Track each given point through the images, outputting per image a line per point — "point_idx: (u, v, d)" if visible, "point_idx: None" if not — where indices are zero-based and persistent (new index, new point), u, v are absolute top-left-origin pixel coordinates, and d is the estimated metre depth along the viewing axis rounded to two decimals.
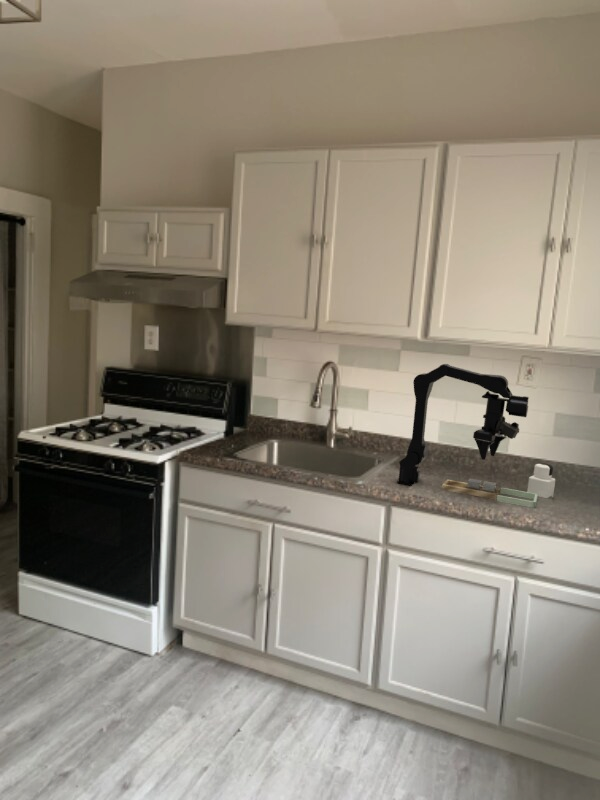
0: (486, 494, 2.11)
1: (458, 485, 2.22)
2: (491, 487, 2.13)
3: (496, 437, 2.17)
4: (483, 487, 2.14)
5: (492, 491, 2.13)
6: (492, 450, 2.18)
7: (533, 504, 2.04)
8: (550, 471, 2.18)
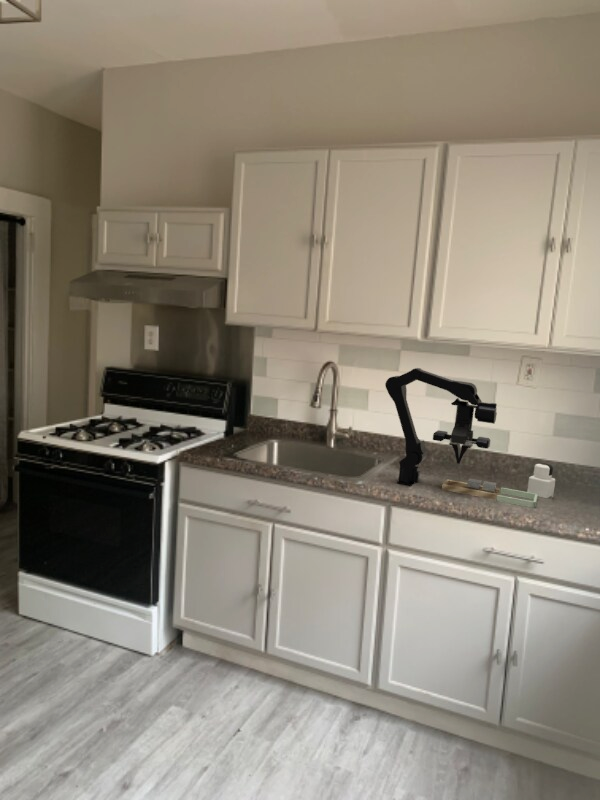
0: (486, 494, 2.11)
1: (458, 485, 2.22)
2: (491, 487, 2.13)
3: None
4: (483, 487, 2.14)
5: (492, 491, 2.13)
6: None
7: (533, 504, 2.04)
8: (550, 471, 2.18)
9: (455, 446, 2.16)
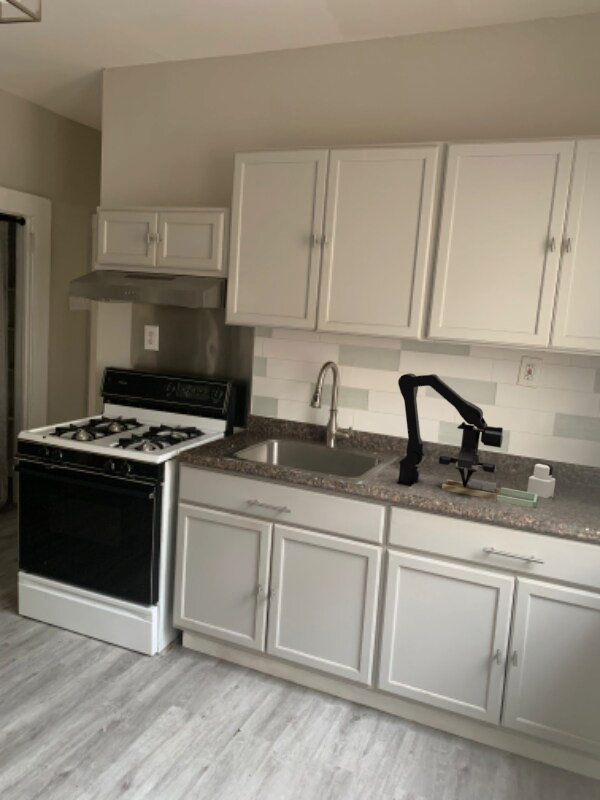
0: (486, 494, 2.11)
1: (458, 485, 2.22)
2: (491, 487, 2.13)
3: None
4: (483, 487, 2.14)
5: (492, 491, 2.13)
6: None
7: (533, 504, 2.04)
8: (550, 471, 2.18)
9: (461, 470, 2.16)
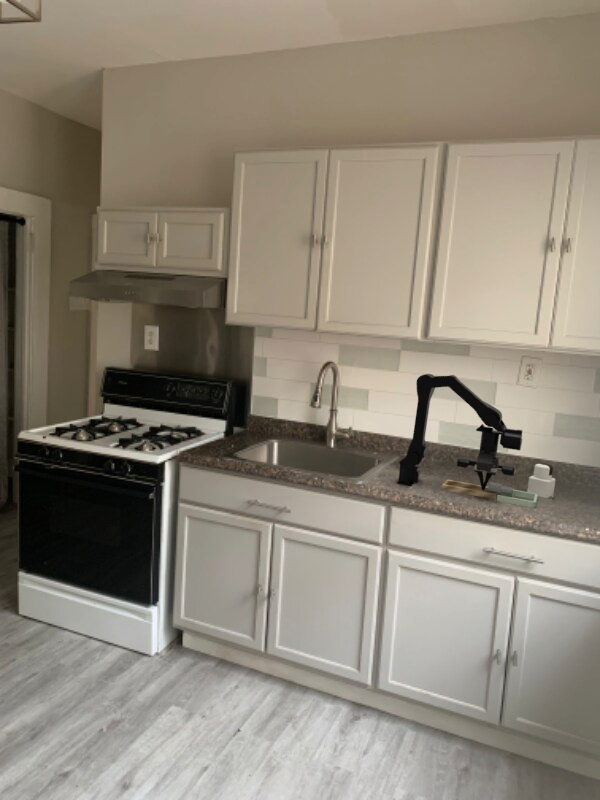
0: (486, 494, 2.11)
1: (458, 485, 2.22)
2: (509, 493, 2.11)
3: None
4: (501, 492, 2.12)
5: (510, 496, 2.11)
6: None
7: (533, 504, 2.04)
8: (550, 471, 2.18)
9: (480, 473, 2.13)
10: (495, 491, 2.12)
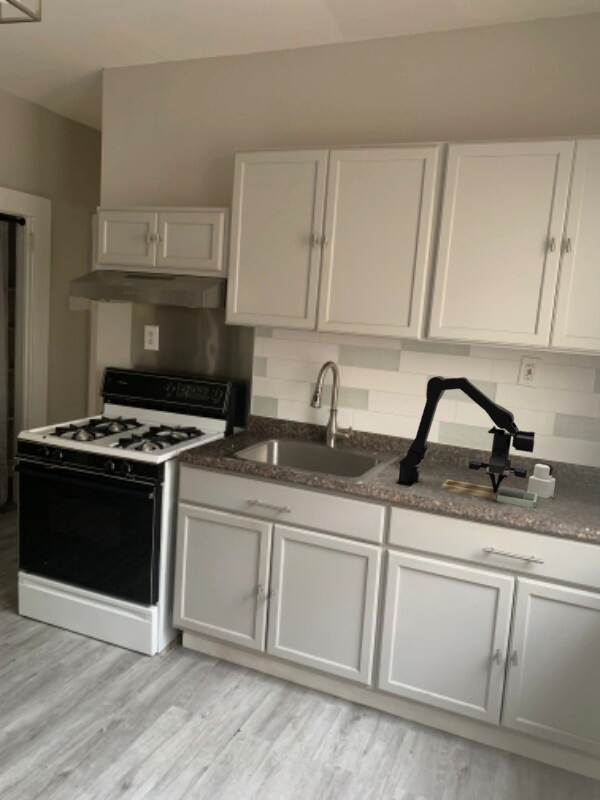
0: (486, 494, 2.11)
1: (458, 485, 2.22)
2: (521, 495, 2.09)
3: None
4: (512, 494, 2.10)
5: (521, 498, 2.09)
6: None
7: (533, 504, 2.04)
8: (550, 471, 2.18)
9: (492, 475, 2.12)
10: (506, 495, 2.11)
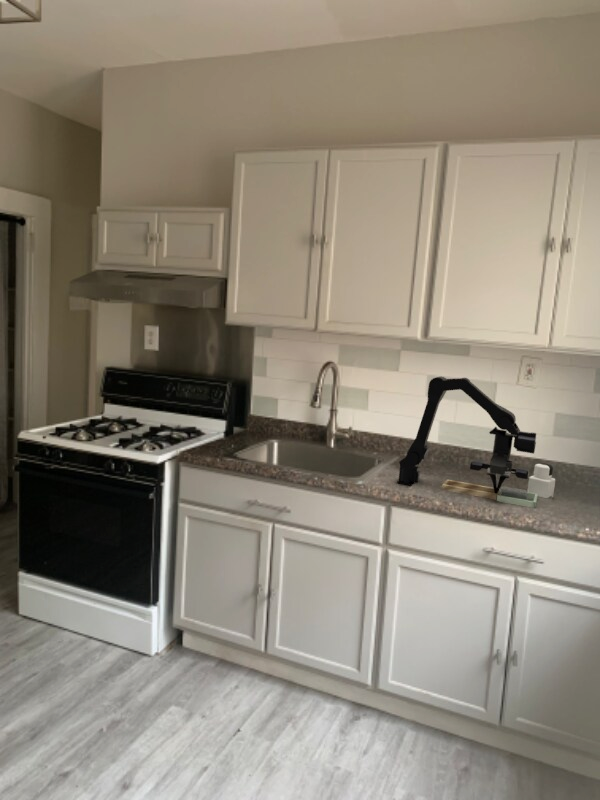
0: (486, 494, 2.11)
1: (458, 485, 2.22)
2: (523, 495, 2.09)
3: None
4: (515, 495, 2.10)
5: (524, 499, 2.09)
6: None
7: (533, 504, 2.04)
8: (550, 471, 2.18)
9: (493, 476, 2.12)
10: (509, 496, 2.11)
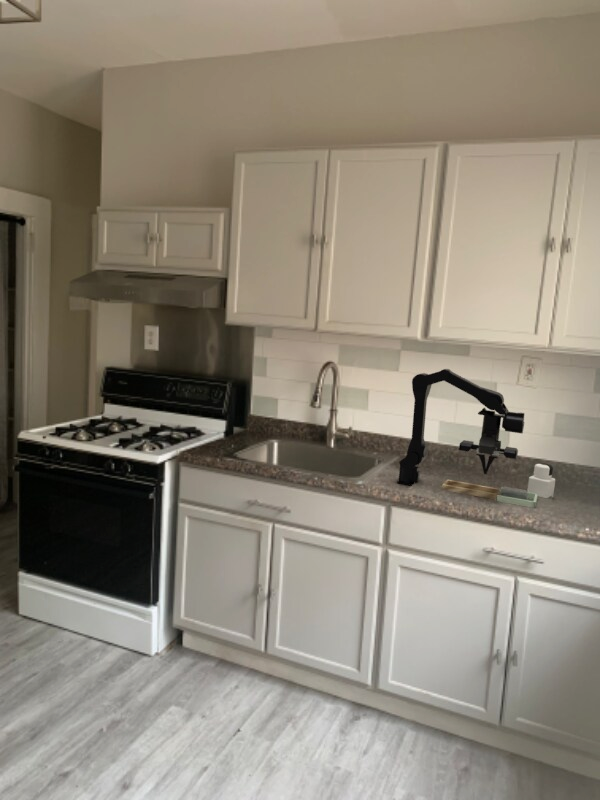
0: (486, 494, 2.11)
1: (458, 485, 2.22)
2: (523, 495, 2.09)
3: None
4: (515, 495, 2.10)
5: (524, 499, 2.09)
6: None
7: (533, 504, 2.04)
8: (550, 471, 2.18)
9: (482, 456, 2.13)
10: (509, 496, 2.11)
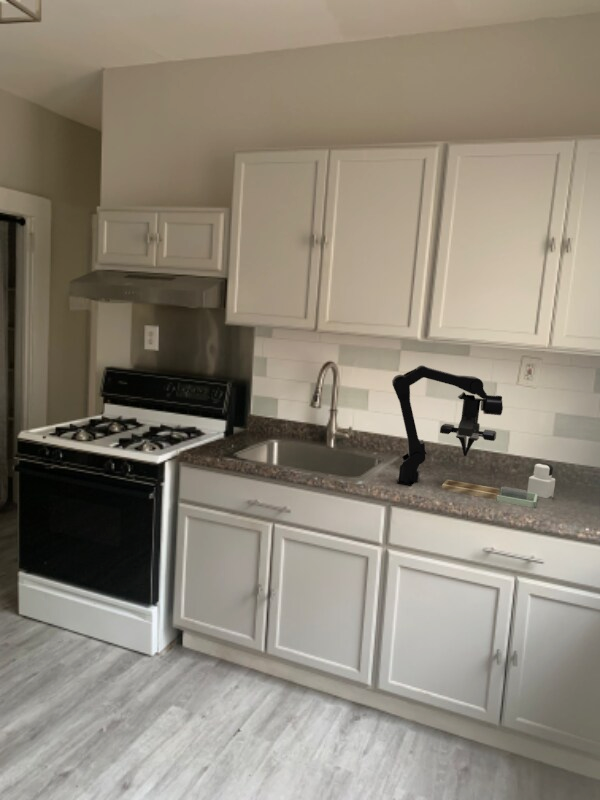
0: (486, 494, 2.11)
1: (458, 485, 2.22)
2: (523, 495, 2.09)
3: (469, 438, 2.22)
4: (515, 495, 2.10)
5: (524, 499, 2.09)
6: None
7: (533, 504, 2.04)
8: (550, 471, 2.18)
9: (462, 439, 2.21)
10: (509, 496, 2.11)
